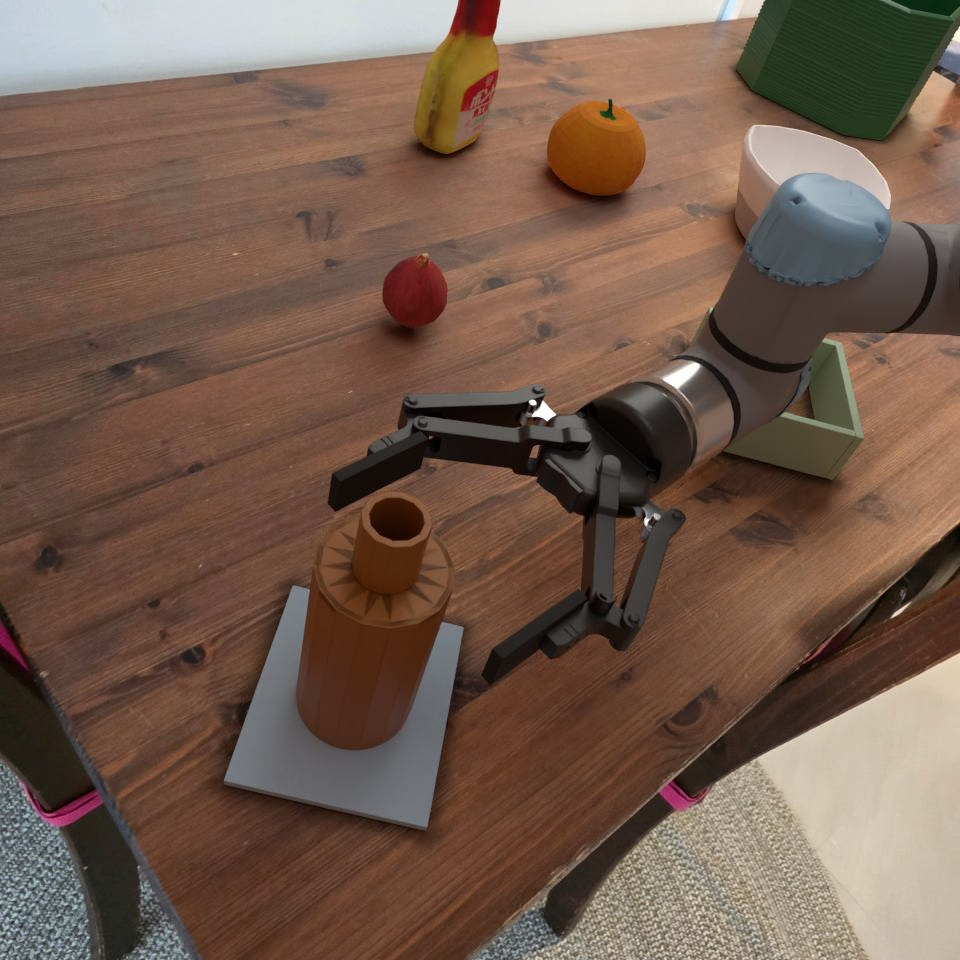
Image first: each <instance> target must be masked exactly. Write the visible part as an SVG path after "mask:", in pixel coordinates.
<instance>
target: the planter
mask: <svg viewBox="0 0 960 960" xmlns="http://www.w3.org/2000/svg"><path fill="white" fill-rule="evenodd" d="M959 29H960V0H764V1H763V2H762V5H761V8H760V9H759V12H758V14H757V17H756V20H755V21H754V24H753V25H752V28H751V31H750V32H749V35H748V36H747V39H746V43H744V47H743V48H742V49H743V50H742V52H741V54H740V56H739V59H738V61H737V63H736V66H735V70H736V71H737V72H738V74H739V76H740V77H741V78H742V79H743V81H744V82H745V83H746V85H747V86H748V88H750V90H751V91H752V92H754V93H756V94H757V95H760V96H762V97H764V98H765V99H768V100H770V101H772V102H773V103H776V104H778V105H780V106H782V107H784V108H786V109H788V110H790V111H791V112H794V113H795V114H799V115H800V116H803V117H804V118H807V119H808V120H810V121H813V122H814V123H816V124H818V125H821V126H822V127H825V128H827V129H829V130H831V131H832V132H835V133H838V134H839V135H841V136H846V137H852V138H861V139H868V140H876V141H883V140H885V138H887V136H888V135H889V134H890V133H891V132H892V131H893V130H894V128H896V126H897V125H898V124H899V123H900V122H901V121H902V120H903V119H904V118H905V116H907V115H908V113H909V112H910V111H911V109H912V107H913V106H914V104H915V102H916V101H917V99H918V97H919V96H920V95H921V93H922V91H923V89H924V88H925V86H926V85H927V82H929V79H930V78H931V75H932V74H933V72H934V71H935V67H936V66H937V65H938V64H939V63H940V61H941V59H942V57H943V56H944V54H945V53H946V50H947V49H948V47H949V46H950V43H951V42H952V41H953V39H954V38H955V34H956V32H958V31H959Z"/></svg>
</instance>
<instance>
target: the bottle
mask: <svg viewBox="0 0 960 960" xmlns="http://www.w3.org/2000/svg"><path fill="white" fill-rule="evenodd" d="M501 1H502V0H457V6H456V10H455V13H454V15H453V16H454V17H453V19H452V23H451V25H450V28H449V32H448V33H447V35H446V37H445V38H444V39H443V41H442V42H441V43H440V44H439V45H438V46H437V47H436V49H435V50H434V51H433V53H432V54H431V56H430V58H429V60H428V62H427V66H426V67H425V71H424V75H423V78H422V82H421V85H420V89H419V95H418V98H417V103H416V107H415V114H414V120H413V123H414V125H413V130H414V133H415V135H416V137H417V138H418V140H419V141H420V142H421V144H422V145H423V146H424V147H425V148H427V149H429V150H432V151H434V152H437V153H438V154H439V153H440V154H445V155H447V154H448V155H449V154H452V153H455V152H457V151H459V150H461V149H463V148H465V147H467V146H469V145H471V144H473V143H474V142H475V141H476V140H477V139H478V138H479V136H480V135H481V133H482V131H483V129H484V127H485V124H486V122H487V119H488V115H489V111H490V109H491V106H492V102H493V99H494V96H495V92H496V88H497V84H498V79H499V73H500V72H499V71H500V57H499V52H498V47H497V45H496V43H495V41H494V35H495V33H496V30H497V27H498V19H499V13H500V8H501Z"/></svg>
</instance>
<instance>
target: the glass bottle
mask: <svg viewBox="0 0 960 960" xmlns="http://www.w3.org/2000/svg"><path fill="white" fill-rule="evenodd" d="M432 529H433V521H432V515H431V511H430V509H429V508H428V507H426V505H425V504H424V503H423V502H422V501H421V500H420V499H419V498H418V497H415V496H413V495H410V494H408V493H405V492H403V491H383V492H380V493H378V494H376V495H374V496H372V497H370V498H368V499H367V500H366V502H365V504H364V506H363V507H362V509H361V511H360V513H358V514H353V515H352V516H350V517H347V518H345V519H344V520H342V521H340V522H338V523H336V524H334V525H333V526H331V528H330V529H329V530H328V531H327V532H326V533H325V534H324V536H323V537H322V539H321V540H320V541H319V542H318V544H317V546H316V551H315V555H314V559H313V563H312V564H313V565H312V571H311V578H310V585H309V589H310V592H309V599H308V606H307V614H306V621H305V628H304V636H303V643H302V650H301V658H300V665H299V672H298V679H297V687H296V701H297V708H298V711H299V714H300V716H301V718H302V721H303V722H304V724H305V725H306V727H307V728H308V729H309V730H310V731H311V733H313V734H314V735H315V736H316V737H317V738H319V739H320V740H322V741H323V742H325V743H327V744H329V745H331V746H334V747H337V748H341V749H345V750H364V749H369V748H373V747H376V746H378V745H381V744H383V743H385V742H386V741H388V740H390V739H391V738H392V737H393V736H395V735H396V734H397V733H398V731H399V730H400V729H401V728H402V726H403V725H404V724H405V722H406V720H407V718H408V715H409V713H410V712H411V709H412V707H413V704H414V701H415V698H416V695H417V692H418V689H419V686H420V683H421V681H422V678H423V675H424V672H425V669H426V666H427V663H428V660H429V657H430V655H431V652H432V649H433V646H434V643H435V640H436V637H437V634H438V631H439V629H440V626H441V623H442V622H443V621H444V620H443V619H444V617H445V613H446V611H447V608H448V606H449V602H450V599H451V597H452V593H453V591H454V582H455V571H456V569H455V565H454V563H453V560H452V557H451V555H450V552H449V549H448V546H447V545H446V544H445V543H444V542H443V541H442V539H441V538H439V537H438V536H437V534H435V532H434V531H433V530H432Z"/></svg>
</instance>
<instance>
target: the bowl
mask: <svg viewBox="0 0 960 960" xmlns="http://www.w3.org/2000/svg"><path fill="white" fill-rule="evenodd" d="M804 173H822V174H828V175H831V176H833V177H834V178H836V179H838V180H841V181H845V180H848V181H850V182H852V183H854V184H856V185H858V186H860V187H862V188H864V189H865V190H867V191H868V192H870V193H871V194H873V195H874V196H875V197H876V198H877V199H878V200H880V202H881V203H882V204H883V205H884V206H885V208H886V209H887V211H888V213H889V214H890V210H891V203H892V194H891V191H890V188H889V185H888V182H887V180H886V178H885V177H884V176H883V175H882V173H881V172H880V171H879V169H878V168H877V167H876V166H875V164H874V163H873V162H872V161H870V160H869V159H868V158H867V156H865V155H864V154H863V153H862V152H861V151H860V150H858V149H857V148H855V147H852V146H850V145H847V144H845V143H843V142H840V141H837V140H835V139H832V138H829V137H826V136H822V135H819V134H816V133H812V132H810V131H806V130H802V129H797V128H790V127H787V126H780V125H769V124H768V125H767V124H753V125H752V126H751V127H749V129H748V130H747V132H746V134H745V136H744V138H743V141H742V146H741V155H740V164H739V172H738V183H737V184H738V185H737V192H736V200H735V209H734V216H735V225H736V226H737V228H738V229H739V231H740V233H741V236H742V237H743V238H744V239H745V241H746V240H747V236H748V234H749V232H750V230H751V229H752V227H753V225H754V224H755V223H756V222H757V220H758V219H759V217H760V215H761V214H762V212H763V210H764V208H765V207H766V205H767V204H768V203H769V201H770V200H771V198H772V197H773V195H774V194H775V192H776V190H777V189H778V188H779V186H780V185H781V184H782V183H783V182H785V181H786V180H787V179H789V178H791V177H793V176H796V175H799V174H804Z"/></svg>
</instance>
